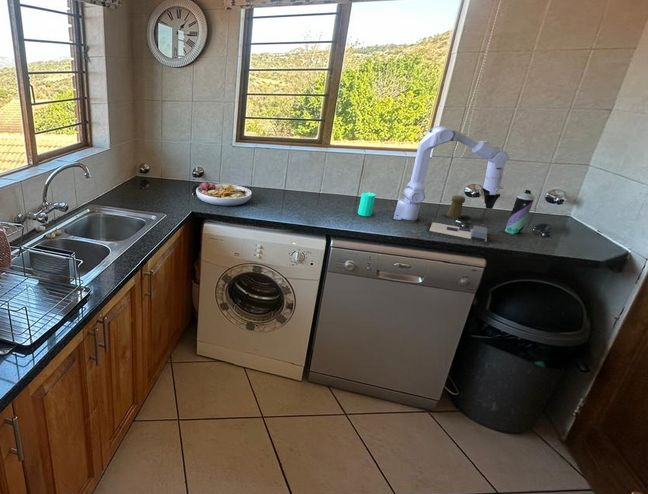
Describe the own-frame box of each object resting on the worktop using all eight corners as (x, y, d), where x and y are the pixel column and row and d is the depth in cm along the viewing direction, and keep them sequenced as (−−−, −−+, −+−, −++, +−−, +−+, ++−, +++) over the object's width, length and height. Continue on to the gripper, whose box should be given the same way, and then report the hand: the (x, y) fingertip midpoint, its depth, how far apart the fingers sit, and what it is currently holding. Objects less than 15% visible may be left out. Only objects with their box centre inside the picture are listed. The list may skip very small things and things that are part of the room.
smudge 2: (458, 229, 178) (459, 228, 178) (459, 228, 181) (459, 227, 180) (470, 232, 176) (470, 230, 176) (470, 230, 178) (470, 229, 178)
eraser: (484, 241, 166) (487, 233, 165) (470, 239, 168) (473, 231, 167) (484, 235, 172) (487, 227, 171) (471, 232, 175) (474, 225, 174)
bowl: (257, 196, 227) (259, 183, 224) (240, 211, 203) (241, 196, 200) (208, 189, 242) (209, 176, 239) (186, 201, 218) (187, 187, 215)
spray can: (500, 231, 179) (516, 188, 172) (512, 231, 180) (528, 188, 172) (512, 236, 174) (528, 192, 167) (523, 236, 175) (540, 191, 167)
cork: (463, 219, 194) (469, 198, 190) (449, 219, 195) (455, 197, 191) (456, 215, 199) (463, 194, 195) (443, 215, 200) (449, 193, 196)
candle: (370, 213, 202) (375, 190, 197) (371, 216, 197) (376, 193, 192) (357, 211, 204) (362, 188, 200) (357, 215, 199) (362, 191, 195)
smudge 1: (446, 229, 179) (446, 228, 179) (446, 227, 181) (447, 226, 181) (457, 231, 176) (457, 230, 176) (457, 229, 179) (458, 228, 178)
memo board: (428, 232, 178) (429, 230, 177) (432, 224, 188) (432, 222, 188) (485, 244, 166) (486, 241, 166) (486, 234, 176) (486, 232, 176)
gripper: (507, 181, 171) (501, 211, 175) (503, 173, 182) (498, 202, 186) (486, 180, 175) (480, 210, 179) (483, 172, 186) (478, 201, 190)
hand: (488, 206), depth 183 cm, fingers open, 7 cm apart
